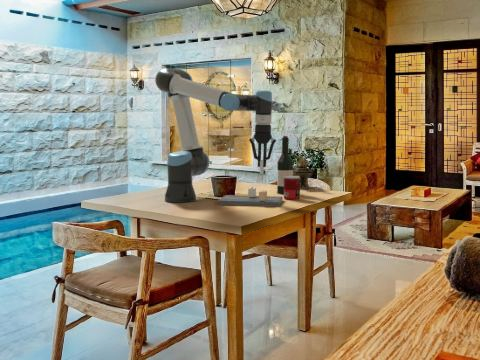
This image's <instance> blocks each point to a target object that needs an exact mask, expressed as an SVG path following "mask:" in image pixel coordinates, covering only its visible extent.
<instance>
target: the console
mask: <svg viewBox="0 0 480 360" xmlns="http://www.w3.org/2000/svg"><path fill="white" fill-rule="evenodd" d="M282 203H283V196H280V195H279V196H277V195H276V196H274V195H267V199H266V201H259V195H256V196H255V197H248V195H238V194H237V195H234V194H233V195H232V194H228V195H227V194H225V195H224V196H222V197H221V198H220V199H219V200H218V206H219V205H220V206H243V207H244V206H248V207H249V206H251V207H253V206H254V207H280V206H281V204H282Z"/></svg>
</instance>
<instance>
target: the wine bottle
mask: <svg viewBox="0 0 480 360" xmlns="http://www.w3.org/2000/svg"><path fill="white" fill-rule="evenodd" d="M281 139H282V140H281V155H280V156H279V158H278V160H277V169H276V171H277V172H276V173H277V180H276V181H277V182H276V183H277V186H276V189H277V191H276V193H277V195H284V176H293V166H294V162H293V160H292V158H291V156H290V154H289V137H288V135H283V136H282V137H281Z"/></svg>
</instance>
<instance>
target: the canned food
mask: <svg viewBox="0 0 480 360" xmlns="http://www.w3.org/2000/svg"><path fill="white" fill-rule="evenodd" d="M300 198H301V189H300V177H299V176H284V194H283V199H284V200H287V201H297V200H300Z"/></svg>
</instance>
